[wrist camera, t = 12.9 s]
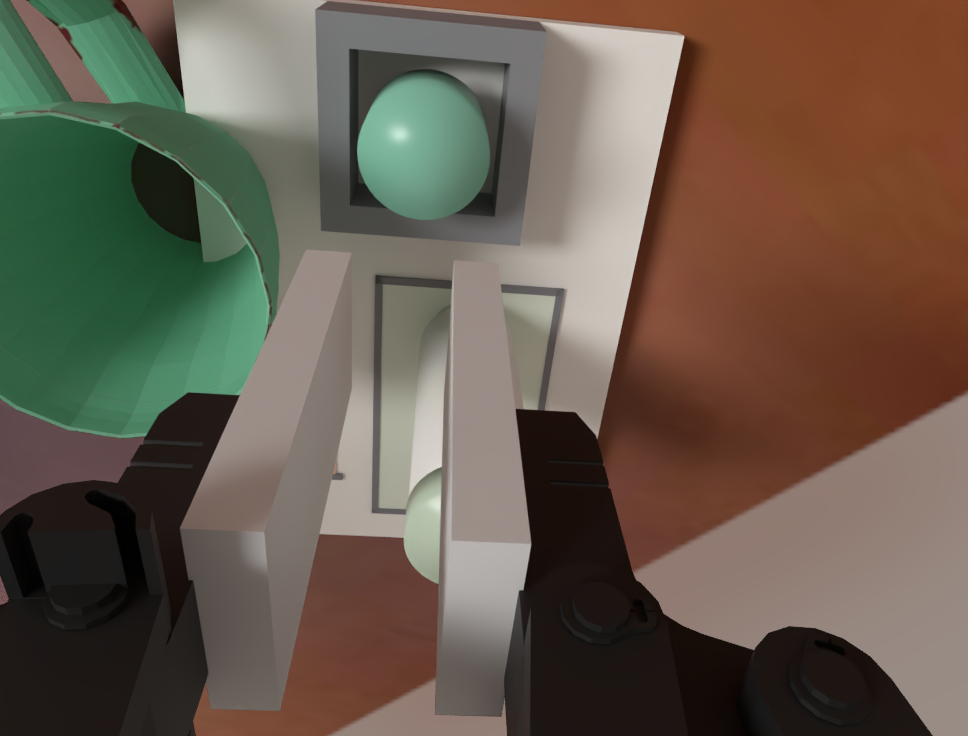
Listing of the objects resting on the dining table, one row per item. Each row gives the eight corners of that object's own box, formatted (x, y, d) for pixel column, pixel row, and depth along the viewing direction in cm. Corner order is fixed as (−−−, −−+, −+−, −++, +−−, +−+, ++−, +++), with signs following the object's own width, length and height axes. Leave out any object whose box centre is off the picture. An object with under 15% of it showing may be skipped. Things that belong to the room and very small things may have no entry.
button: (366, 185, 25) (357, 214, 23) (367, 63, 23) (357, 80, 21) (481, 194, 26) (483, 224, 23) (492, 75, 24) (496, 93, 21)
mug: (358, 267, 31) (322, 402, 22) (139, 318, 31) (23, 467, 23) (210, -152, 23) (68, -192, 14) (-73, -69, 24) (-366, -61, 15)
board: (240, 515, 37) (220, 568, 34) (181, -17, 24) (142, -8, 21) (571, 531, 38) (581, 583, 35) (677, 31, 26) (705, 47, 23)
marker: (417, 369, 31) (401, 588, 21) (422, 287, 29) (406, 485, 19) (508, 375, 32) (534, 592, 22) (518, 294, 30) (552, 492, 20)
